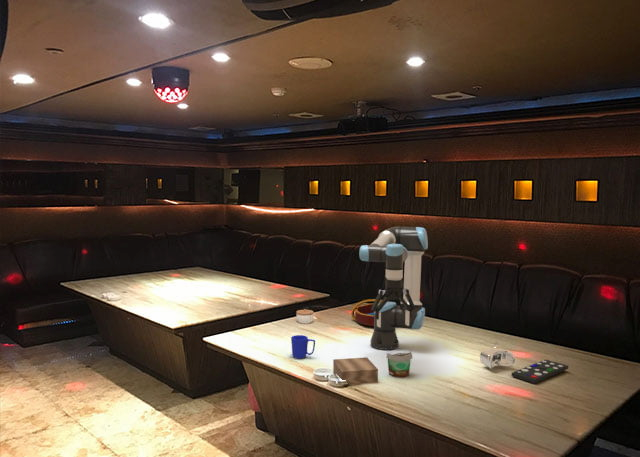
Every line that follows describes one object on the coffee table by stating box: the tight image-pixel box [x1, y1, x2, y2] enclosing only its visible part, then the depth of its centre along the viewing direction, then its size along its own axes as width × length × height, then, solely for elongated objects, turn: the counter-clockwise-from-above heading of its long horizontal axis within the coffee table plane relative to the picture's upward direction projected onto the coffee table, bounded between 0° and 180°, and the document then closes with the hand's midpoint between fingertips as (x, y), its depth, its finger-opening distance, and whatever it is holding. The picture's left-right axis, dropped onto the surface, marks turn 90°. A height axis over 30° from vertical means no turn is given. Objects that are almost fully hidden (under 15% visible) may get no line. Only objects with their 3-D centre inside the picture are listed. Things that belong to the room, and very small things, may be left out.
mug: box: [290, 334, 316, 359], centre depth 248 cm, size 8×12×10 cm
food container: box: [386, 351, 413, 378], centre depth 223 cm, size 12×6×10 cm, turn 105°
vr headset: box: [479, 341, 516, 370], centre depth 236 cm, size 14×9×11 cm, turn 109°
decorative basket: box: [350, 298, 383, 327], centre depth 316 cm, size 34×29×15 cm
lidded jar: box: [296, 308, 314, 325], centre depth 312 cm, size 11×11×9 cm
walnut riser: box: [332, 356, 379, 386], centre depth 221 cm, size 16×16×6 cm
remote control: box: [510, 359, 569, 384], centre depth 231 cm, size 11×30×2 cm, turn 128°
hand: (393, 325), depth 224 cm, fingers open, 13 cm apart
